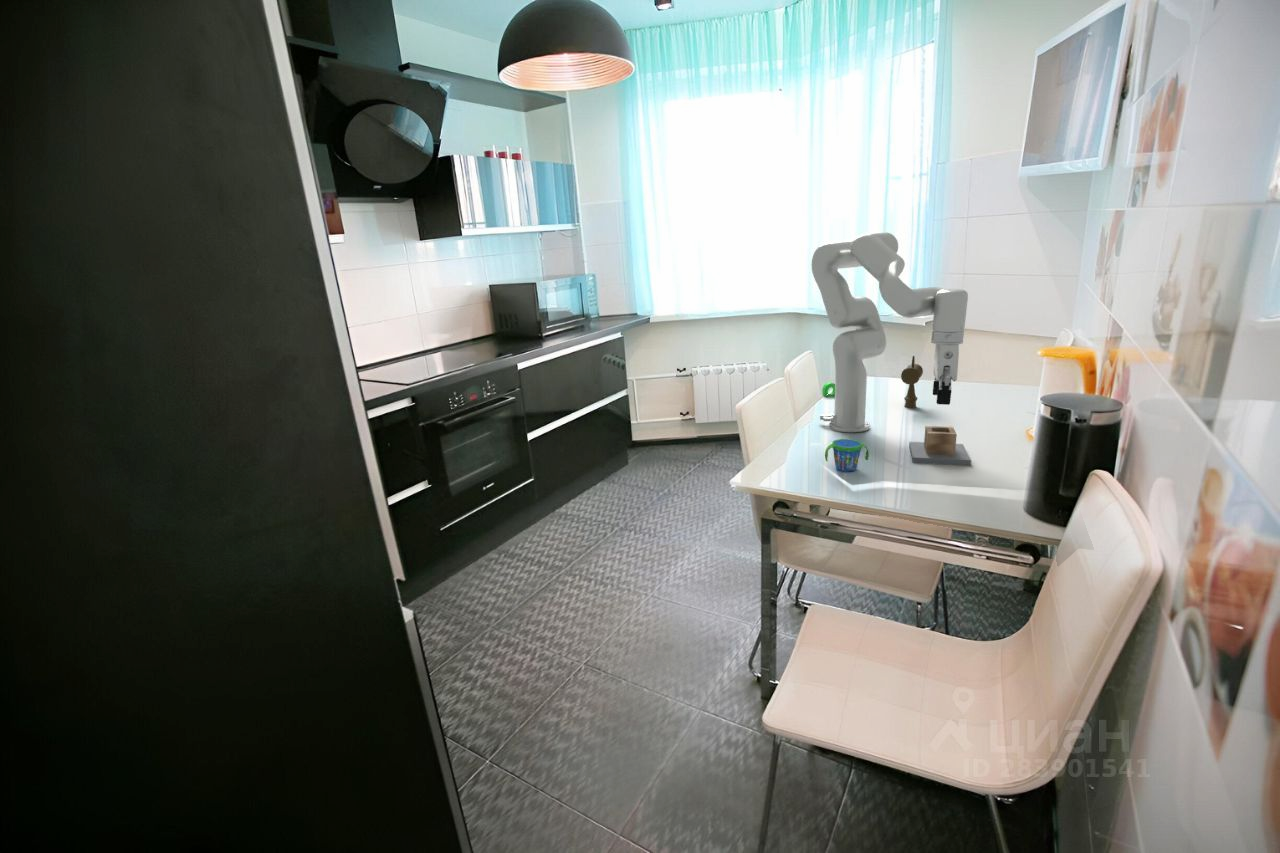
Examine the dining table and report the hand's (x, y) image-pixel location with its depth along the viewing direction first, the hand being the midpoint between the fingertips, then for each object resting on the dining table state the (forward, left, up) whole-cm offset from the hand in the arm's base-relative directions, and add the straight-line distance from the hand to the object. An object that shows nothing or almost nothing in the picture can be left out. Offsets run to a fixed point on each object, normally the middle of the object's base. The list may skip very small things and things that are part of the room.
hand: (940, 399), depth 159 cm
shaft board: (0, 0, -16) cm, 16 cm away
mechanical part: (-28, +58, -17) cm, 66 cm away
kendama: (-4, +48, -16) cm, 51 cm away
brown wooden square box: (+1, 0, -15) cm, 15 cm away
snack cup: (-24, -15, -16) cm, 33 cm away
